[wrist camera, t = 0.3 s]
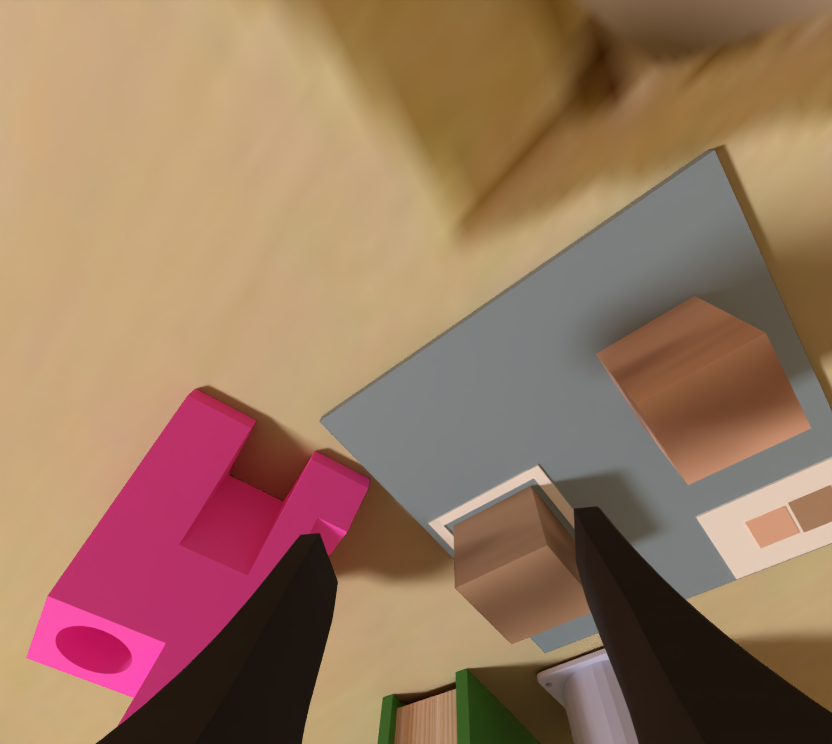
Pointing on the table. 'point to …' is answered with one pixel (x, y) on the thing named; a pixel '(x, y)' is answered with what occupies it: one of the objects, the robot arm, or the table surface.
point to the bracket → (182, 554)
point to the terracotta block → (705, 388)
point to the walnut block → (519, 567)
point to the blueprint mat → (602, 401)
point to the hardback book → (452, 718)
